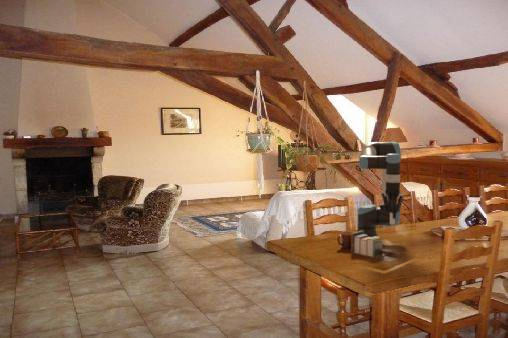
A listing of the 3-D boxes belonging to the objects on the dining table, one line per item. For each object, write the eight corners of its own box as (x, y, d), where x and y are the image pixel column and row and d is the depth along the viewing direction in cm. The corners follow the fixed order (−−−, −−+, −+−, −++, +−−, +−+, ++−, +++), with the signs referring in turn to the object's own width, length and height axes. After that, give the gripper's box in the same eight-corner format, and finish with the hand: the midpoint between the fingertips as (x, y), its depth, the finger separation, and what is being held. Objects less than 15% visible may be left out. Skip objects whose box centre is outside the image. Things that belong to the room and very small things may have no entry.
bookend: (373, 257, 256) (373, 243, 256) (380, 254, 262) (380, 240, 261) (378, 258, 254) (378, 244, 253) (386, 255, 259) (386, 241, 259)
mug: (348, 247, 284) (348, 231, 283) (358, 250, 276) (358, 233, 275) (333, 249, 279) (333, 233, 278) (342, 253, 271) (342, 236, 270)
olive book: (366, 255, 259) (367, 238, 258) (374, 253, 265) (374, 236, 264) (373, 257, 256) (373, 239, 255) (380, 254, 262) (381, 237, 261)
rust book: (359, 254, 262) (360, 238, 262) (367, 251, 268) (367, 236, 267) (366, 255, 259) (366, 240, 258) (374, 253, 265) (374, 237, 264)
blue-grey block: (354, 253, 265) (354, 236, 264) (361, 250, 271) (362, 233, 270) (359, 254, 262) (360, 237, 262) (367, 251, 268) (367, 234, 267)
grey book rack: (350, 255, 266) (351, 233, 265) (361, 251, 273) (361, 230, 272) (390, 264, 248) (390, 240, 247) (400, 260, 255) (400, 237, 254)
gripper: (378, 181, 255) (378, 223, 257) (400, 183, 245) (399, 226, 248) (385, 180, 260) (385, 221, 262) (407, 182, 250) (406, 224, 253)
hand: (392, 223), depth 255 cm, fingers closed
